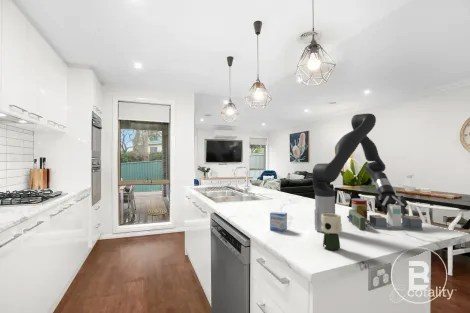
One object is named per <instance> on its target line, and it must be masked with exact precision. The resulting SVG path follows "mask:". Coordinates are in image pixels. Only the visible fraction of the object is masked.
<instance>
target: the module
mask: <svg viewBox="0 0 470 313" xmlns="http://www.w3.org/2000/svg"><path fill="white" fill-rule="evenodd" d="M386 206H387V207H386V208H387V211H388V213H387V223H388V224H390V225H391V226H401V223H402V211H401V206H398V205H394V204H387V205H386Z"/></svg>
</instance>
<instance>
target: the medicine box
mask: <svg viewBox="0 0 470 313" xmlns="http://www.w3.org/2000/svg"><path fill="white" fill-rule="evenodd" d="M269 230H270V231H272V230H275V231H276V232H283V231H285V232H287V230H288V212H278V211H271V212H270V213H269ZM275 231H274V232H275Z"/></svg>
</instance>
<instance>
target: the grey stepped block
mask: <svg viewBox="0 0 470 313" xmlns="http://www.w3.org/2000/svg"><path fill="white" fill-rule="evenodd" d="M366 225H368V226H370V227H372V229H377V230H378V229H379V230H380V229H381V230H405V231H407V230H408V231H423V230H424V228H423V219H422V218H420V217H416V216H413V215H401V226H391V225H390V224H388V218H386V217H384V216H382V215H380V214H369V221H366Z"/></svg>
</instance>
